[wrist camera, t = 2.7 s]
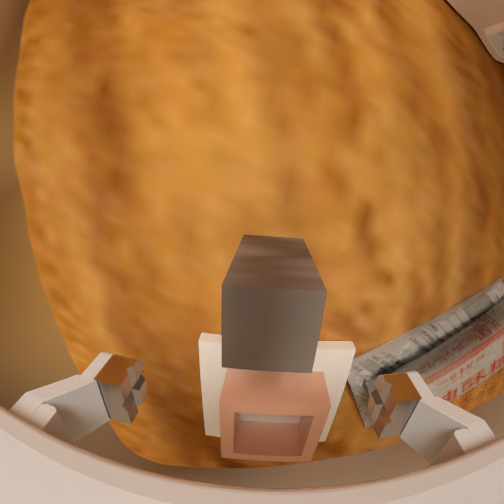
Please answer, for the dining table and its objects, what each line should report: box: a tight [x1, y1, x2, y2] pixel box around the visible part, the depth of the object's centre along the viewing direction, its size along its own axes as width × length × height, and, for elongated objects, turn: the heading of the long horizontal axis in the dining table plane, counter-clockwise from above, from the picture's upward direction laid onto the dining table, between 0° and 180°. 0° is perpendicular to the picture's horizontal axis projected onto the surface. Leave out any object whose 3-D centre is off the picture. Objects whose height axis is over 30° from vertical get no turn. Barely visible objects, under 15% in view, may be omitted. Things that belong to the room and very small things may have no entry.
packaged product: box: [347, 277, 504, 429], centre depth 20 cm, size 18×5×10 cm
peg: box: [222, 235, 327, 373], centre depth 16 cm, size 4×4×9 cm
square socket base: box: [199, 333, 356, 462], centre depth 21 cm, size 12×12×5 cm
